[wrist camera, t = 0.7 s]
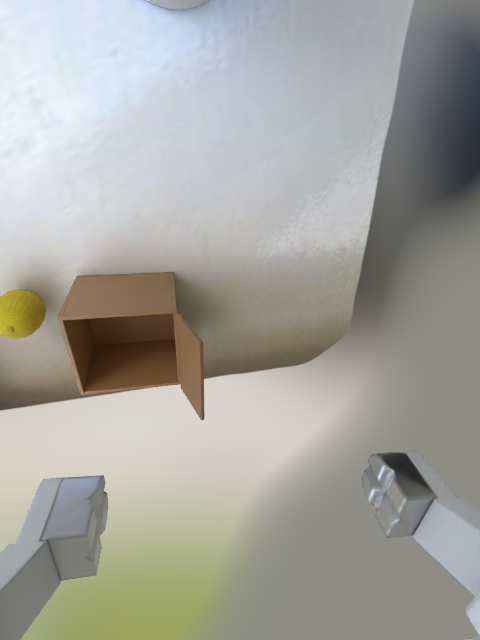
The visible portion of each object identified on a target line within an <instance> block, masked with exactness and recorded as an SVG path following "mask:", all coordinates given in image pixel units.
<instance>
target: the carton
mask: <svg viewBox="0 0 480 640" xmlns="http://www.w3.org/2000/svg"><path fill="white" fill-rule="evenodd" d="M176 314H177V306H176V294H175V283H174V272H162V273H139V274H115V275H91V276H76V279H75V281H74V283H73V285H72V287H71V289H70V292H69V294H68V296H67V298H66V300H65V302H64V305H63V307H62V309H61V311H60V313H59V315H58V321H59V324H60V327H61V331H62V334H63V337H64V341H65V344H66V347H67V351H68V354H69V357H70V361H71V364H72V367H73V371H74V374H75V377H76V381H77V384H78V388H79V391H80V394H81V395H84V394H93V393H103V392H112V391H121V390H131V389H140V388H150V387H159V386H168V385H178V384H181V381H180V366H179V352H178V337H177V323H176Z"/></svg>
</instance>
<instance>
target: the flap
mask: <svg viewBox="0 0 480 640" xmlns="http://www.w3.org/2000/svg"><path fill="white" fill-rule="evenodd" d="M176 323H177V337H178V352H179V366H180V381H181V389H182V390H183V392H184V393H185V395H186V396H187V398H188V400H189V401H190V403H191V404H192V406H193V408H194V409H195V411H196V412H197V414H198V415H199V417H200V419H201V420H204V370H203V341H202V340H201V339H200V338H199V336H198V335H197V334H196V333H195V332H194V330H193V329H192V328H191V327H190V326H189V324H188V323H187V322H186V321H185V320H184V318H183V317H182V316H181V315H180V314H179V313H177V314H176Z"/></svg>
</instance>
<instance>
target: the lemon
mask: <svg viewBox="0 0 480 640" xmlns="http://www.w3.org/2000/svg"><path fill="white" fill-rule="evenodd" d="M45 313H46V310H45V305H44V303H43V301H42V299H41V298H40V297H39V296H38V295H36V294H35V293H33V292H31V291H28V290H13V291H10V292H7V293H5V294H4V295H2V296H1V297H0V334H1V335H3V336H6V337H9V338H23V337H26V336H29V335H31V334H32V333H34V332H35V331H36V330H37V329H38V328H39V327H40V326H41V324H42V322H43V321H44V318H45Z"/></svg>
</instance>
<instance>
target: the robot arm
mask: <svg viewBox="0 0 480 640" xmlns="http://www.w3.org/2000/svg"><path fill="white" fill-rule="evenodd" d="M146 1H147V2H149V3H151V4H154V5H156V6H159V7H162V8H166V9H174V10H183V9H189V8H194V7H196V6H199V5H201V4H203V3H205V2H207V1H209V0H146ZM368 463H369V465H370V467H368V468H367V469H366V470H365V471H364V473H363V476H362V488H363V491H364V494H365V496H366V498H367V500H368V502H369V503H370V504H372V505H373V506H374V507H375V508H377V509H376V517H377V520H378V521H379V523H380V525H381V527H382V529H383V531H384V533H385V535H386V537H387V538H391V537H402V536H412V535H413V538H414V539H415V540H416V541H417V542H418V543H419V544H420V545H421V546H422V547H423V548H424V549H426V550H427V551H428V552H429V553H430V554H431V555H432V556H433V557H434V558H435V559H436V560H437V561H438V562H439V563H441V564H442V565H443V566H444V567H445V568H446V569H447V570H448V571H449V572H450V573H451V574H452V575H453V576H454V577H456V578H457V579H458V580H459V581H460V582H461V583H462V584H463V585H464V586H465V587H466V588H467V589H468V590H469V591H470V592H472V594H473V595H475V596H476V597H475V598H474V599H473V600H472V601H471V602H470V604H469V605H468V606H467V608H466V614H467V615H468V617H469V618H470V621H471V622H472V624H473V626H474V627H475V629H476V631H477V632H478V634H479V636H480V510H478V509H477V508H475V507H474V506H472V505H470V504H469V503H468V502H466V501H465V500H463V499H462V498H460V497H458V496H456V497H454V496H453V495H452V493H451V492H450V491H449V490H448V488H447V487H446V486H445V484H444V483H443V482H442V480H441V479H440V478H439V477H438V475H437V474H436V472H435V471H434V470H433V469H432V468H431V466H430V465H429V463H428V462H427V461H426V459H425V458H424V457H423V455H422V454H421V453H419V452H418V451H405V452H400V451H399V452H388V453H378V454H373V455H371V456H370V458H369V460H368ZM104 487H105V479H104V476H86V477H68V478H52V479H43V481H42V482H41V484H40V485H39V487H38V489H37V492H36V494H35V497H34V499H33V502H32V504H31V507H30V509H29V512H28V515H27V517H26V519H25V522H24V524H23V527H22V529H21V532H20V534H19V537H18V539H17V541H16V544H10V545H8V546H7V547H6V548H5V549H4V550H3V551H2V552H1V553H0V640H20V639H21V638H22V637H23V635H24V634H25V632H26V631H27V630H28V628H29V627H30V625H31V624H32V623H33V621H34V620H35V618H36V617H37V616H38V614H39V613H40V611H41V610H42V609H43V607H44V606H45V604H46V603H47V601H48V600H49V599H50V598H51V596H52V595H53V593H54V592H55V590H56V589H57V588H58V586H59V585H60V581H62V580H69V579H75V578H81V577H87V576H94V575H96V573H97V568H98V563H99V558H100V553H101V541H100V535H101V534H102V533H103V531H104V530H105V525H106V520H107V511H108V498H107V493H106V492H104ZM465 640H480V637H475V638H470V639H465Z"/></svg>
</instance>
